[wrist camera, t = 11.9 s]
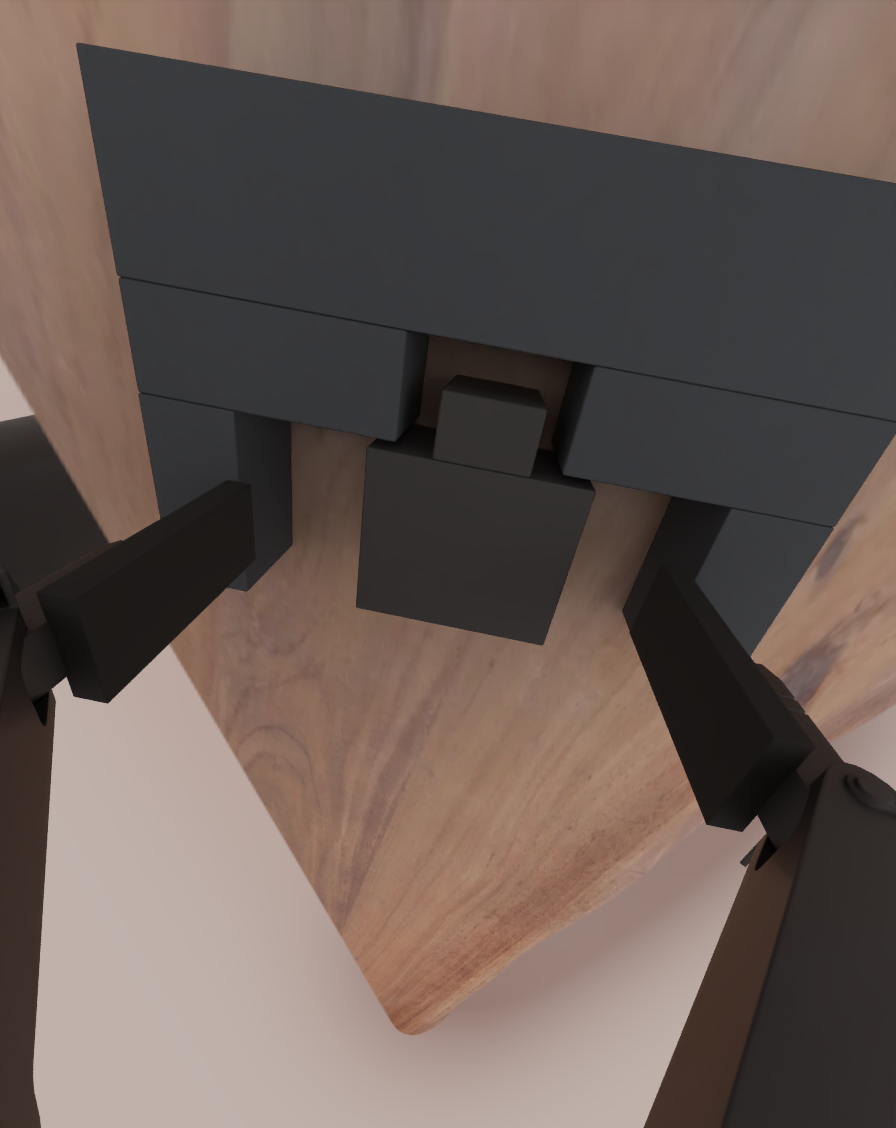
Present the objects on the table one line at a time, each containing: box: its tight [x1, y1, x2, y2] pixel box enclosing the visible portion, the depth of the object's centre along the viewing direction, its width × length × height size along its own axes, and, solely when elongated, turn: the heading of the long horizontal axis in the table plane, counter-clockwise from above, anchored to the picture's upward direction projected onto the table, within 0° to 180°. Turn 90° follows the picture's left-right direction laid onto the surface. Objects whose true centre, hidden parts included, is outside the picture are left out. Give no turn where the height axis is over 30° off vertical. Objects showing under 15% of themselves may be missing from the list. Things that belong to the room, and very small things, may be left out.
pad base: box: [76, 43, 896, 656], centre depth 15 cm, size 21×14×4 cm, turn 81°
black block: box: [356, 375, 596, 645], centre depth 16 cm, size 7×8×4 cm
